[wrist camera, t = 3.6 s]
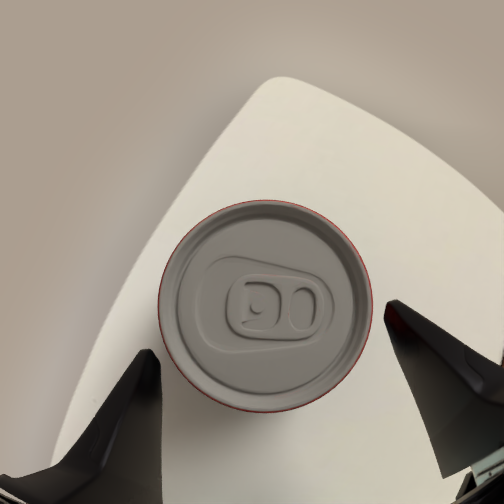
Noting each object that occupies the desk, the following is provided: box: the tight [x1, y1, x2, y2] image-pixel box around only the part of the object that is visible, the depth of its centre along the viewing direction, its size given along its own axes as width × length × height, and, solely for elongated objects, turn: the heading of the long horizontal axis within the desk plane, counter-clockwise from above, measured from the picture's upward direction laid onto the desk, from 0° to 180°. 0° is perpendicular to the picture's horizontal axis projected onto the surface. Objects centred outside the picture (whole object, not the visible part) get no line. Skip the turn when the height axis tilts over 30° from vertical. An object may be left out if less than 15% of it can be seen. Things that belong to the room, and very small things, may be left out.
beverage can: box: [158, 200, 373, 413], centre depth 12 cm, size 7×7×12 cm
